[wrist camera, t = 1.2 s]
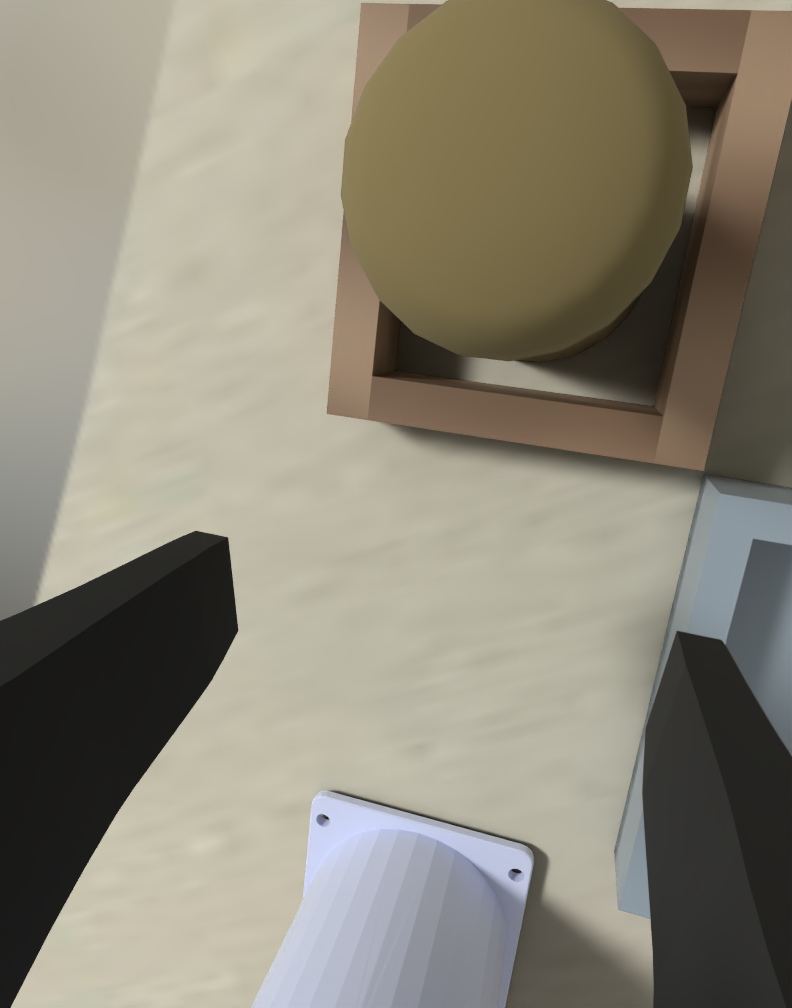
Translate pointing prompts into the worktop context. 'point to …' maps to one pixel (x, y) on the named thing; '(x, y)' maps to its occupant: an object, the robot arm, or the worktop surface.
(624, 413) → the frame
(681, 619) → the parts tray
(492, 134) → the cork
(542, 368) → the worktop surface
